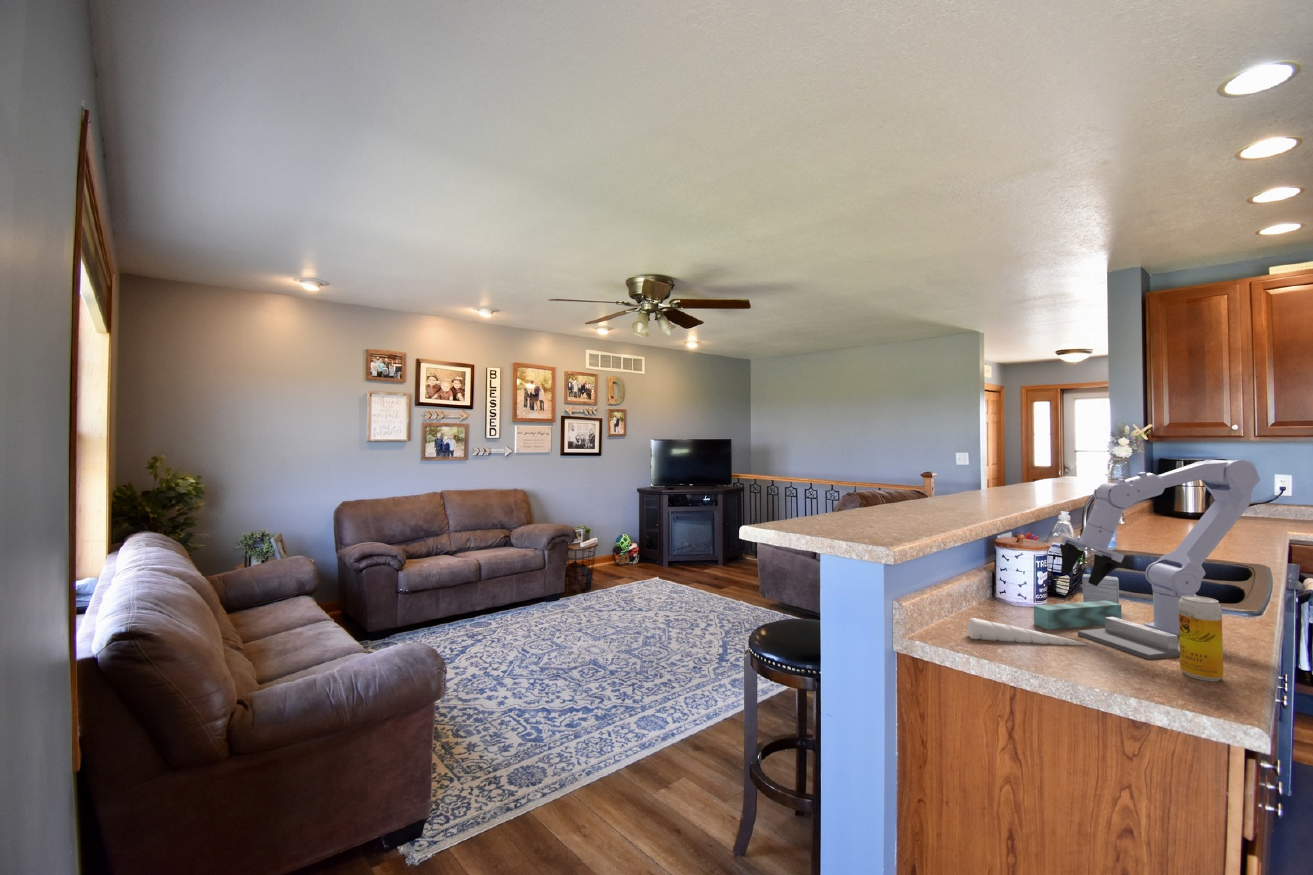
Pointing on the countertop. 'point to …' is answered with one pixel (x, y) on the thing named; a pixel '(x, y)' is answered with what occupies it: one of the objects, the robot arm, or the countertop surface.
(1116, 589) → the medicine box
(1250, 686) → the countertop surface
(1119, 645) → the ridge stand
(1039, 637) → the unicorn horn
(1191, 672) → the beer can
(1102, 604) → the teal wavy bar
